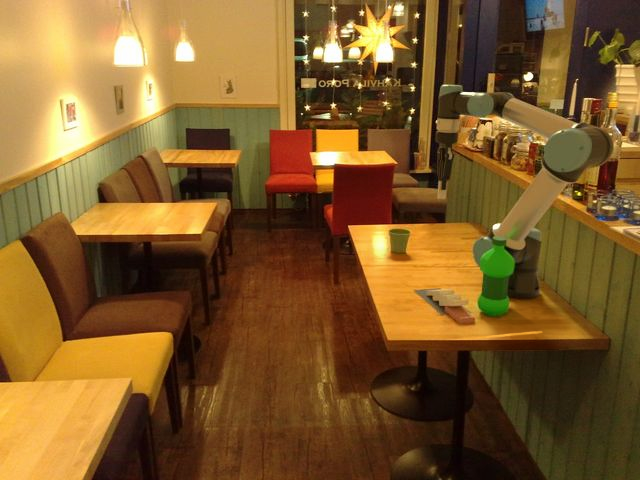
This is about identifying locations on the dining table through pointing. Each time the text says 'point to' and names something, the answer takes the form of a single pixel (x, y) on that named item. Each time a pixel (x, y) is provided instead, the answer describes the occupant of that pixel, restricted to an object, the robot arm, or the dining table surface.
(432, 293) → the domino
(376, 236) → the dining table surface
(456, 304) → the domino
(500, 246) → the plastic bottle
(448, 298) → the domino
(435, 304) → the mat
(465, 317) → the domino
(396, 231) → the plant pot
